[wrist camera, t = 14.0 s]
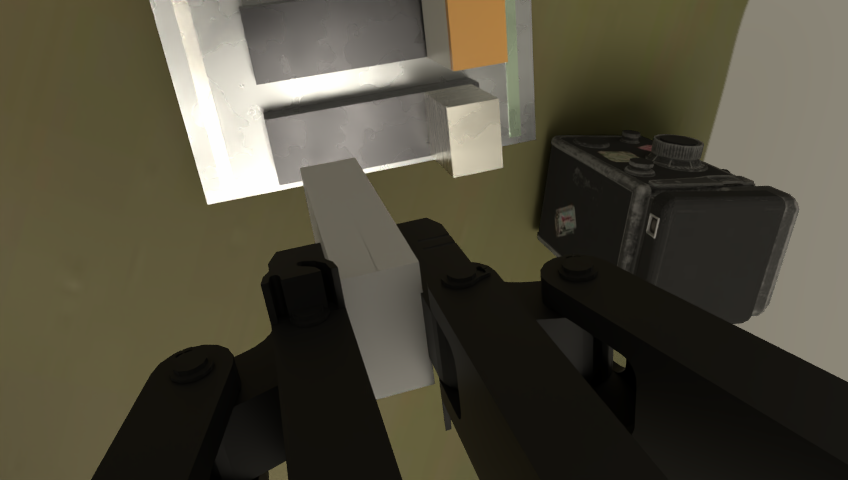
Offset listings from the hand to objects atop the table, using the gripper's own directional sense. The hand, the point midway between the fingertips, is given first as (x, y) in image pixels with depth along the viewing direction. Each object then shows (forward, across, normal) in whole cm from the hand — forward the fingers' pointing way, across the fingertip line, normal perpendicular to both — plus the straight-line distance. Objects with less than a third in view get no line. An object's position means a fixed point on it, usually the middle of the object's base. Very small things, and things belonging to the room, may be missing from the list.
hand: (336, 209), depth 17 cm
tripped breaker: (+20, +10, +2) cm, 22 cm away
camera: (+25, +22, -12) cm, 35 cm away
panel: (+24, +5, +2) cm, 25 cm away
